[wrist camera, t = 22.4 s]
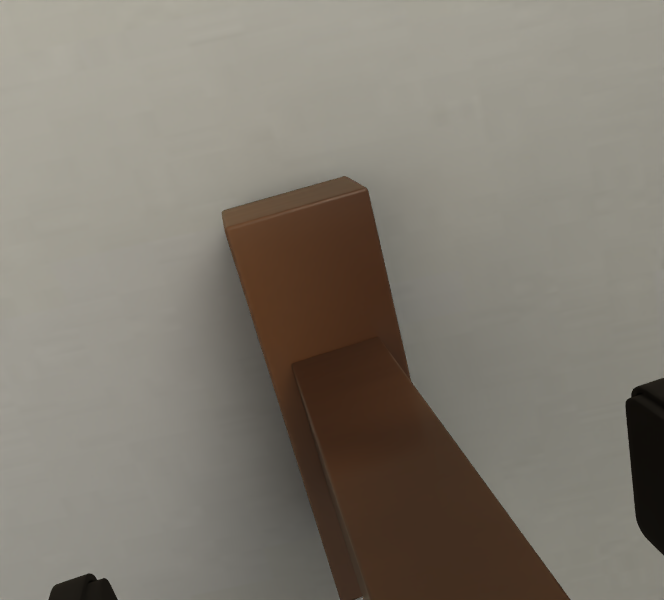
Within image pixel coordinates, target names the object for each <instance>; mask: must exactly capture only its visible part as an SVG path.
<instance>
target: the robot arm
mask: <svg viewBox="0 0 664 600" xmlns="http://www.w3.org/2000/svg"><path fill="white" fill-rule="evenodd" d="M626 417H627V428H628V439H629V449H630V460H631V471H632V481H633V492H634V503H635V513H636V520H637V523H638V526H639V528H640V530H641V531H642V533H643V534H644V536H645V537H646V538H647V539H648V540H649V541H650V542H651V543H652V544H653V545H654V546H655V547H656V548H657V549H658V550H659V551H660V552H661V553H662V554H663V555H664V378H661V379H658V380H656V381H653V382H650V383H647V384H644V385H641V386H638V387H636V388H634V389H633V391H632V393H631V398H629V399H628V400H627V401H626ZM49 600H118V599H117V597H116V595H115V593H114V591H113V589H112V587H111V585H110V583H109V581H108V580H107V579H106V578H103V579H100V580H97V579H96V577H95V576H94V575H93V574H86V575H83V576H80V577H77V578H74V579H71V580H68V581H65V582H62V583H59V584H56V585H55V586H54V587H53V589H52V591H51V593H50V597H49Z"/></svg>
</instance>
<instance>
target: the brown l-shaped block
mask: <svg viewBox="0 0 664 600" xmlns="http://www.w3.org/2000/svg"><path fill="white" fill-rule="evenodd" d="M222 219H223V225H224V230H225V234H226V237H227V240H228V243H229V247H230V250H231V253H232V256H233V259H234V263H235V266H236V269H237V272H238V275H239V278H240V282H241V285H242V288H243V291H244V294H245V298H246V301H247V304H248V307H249V310H250V314H251V317H252V320H253V323H254V326H255V329H256V333H257V336H258V339H259V342H260V345H261V349H262V352H263V355H264V358H265V361H266V365H267V368H268V371H269V374H270V377H271V380H272V384H273V387H274V390H275V393H276V396H277V400H278V403H279V406H280V409H281V412H282V416H283V419H284V422H285V425H286V428H287V431H288V435H289V438H290V441H291V444H292V447H293V451H294V454H295V457H296V460H297V463H298V467H299V470H300V473H301V476H302V479H303V482H304V486H305V489H306V492H307V495H308V498H309V502H310V505H311V508H312V511H313V514H314V517H315V521H316V524H317V527H318V530H319V533H320V537H321V540H322V543H323V546H324V549H325V553H326V556H327V559H328V562H329V565H330V568H331V572H332V575H333V578H334V581H335V584H336V588H337V591H338V594H339V597H340V600H354V599H357V598H360V597H362V596H363V599H364V600H570V598H569V597H568V596H567V594H566V593H565V592H564V590H563V589H562V587H561V586H560V585H559V583H558V582H557V581H556V579H555V578H554V576H553V575H552V574H551V572H550V571H549V570H548V568H547V567H546V566H545V564H544V563H543V561H542V560H541V559H540V557H539V556H538V555H537V553H536V552H535V550H534V549H533V548H532V546H531V545H530V544H529V542H528V541H527V540H526V538H525V537H524V535H523V534H522V533H521V531H520V530H519V529H518V527H517V526H516V524H515V523H514V522H513V520H512V519H511V518H510V516H509V515H508V514H507V512H506V511H505V509H504V508H503V507H502V505H501V504H500V503H499V501H498V500H497V498H496V497H495V496H494V494H493V493H492V492H491V490H490V489H489V487H488V486H487V485H486V483H485V482H484V481H483V479H482V478H481V477H480V475H479V474H478V472H477V471H476V470H475V468H474V467H473V466H472V464H471V463H470V461H469V460H468V459H467V457H466V456H465V455H464V453H463V452H462V451H461V449H460V448H459V446H458V445H457V444H456V442H455V441H454V440H453V438H452V437H451V435H450V434H449V433H448V431H447V430H446V429H445V427H444V426H443V425H442V423H441V422H440V420H439V419H438V418H437V416H436V415H435V414H434V412H433V411H432V409H431V408H430V407H429V405H428V404H427V403H426V401H425V400H424V399H423V397H422V396H421V394H420V393H419V392H418V390H417V389H416V388H415V386H414V385H413V383H412V382H411V379H410V374H409V370H408V365H407V361H406V356H405V352H404V348H403V343H402V339H401V334H400V330H399V325H398V321H397V317H396V312H395V308H394V303H393V299H392V294H391V290H390V285H389V281H388V277H387V272H386V268H385V263H384V259H383V254H382V250H381V246H380V241H379V237H378V232H377V228H376V223H375V219H374V214H373V210H372V206H371V201H370V197H369V192H368V189H367V188H366V187H364V186H362V185H361V184H359V183H357V182H355V181H354V180H352V179H350V178H348V177H346V176H343V177H340V178H336V179H333V180H329V181H326V182H322V183H319V184H315V185H312V186H308V187H304V188H301V189H297V190H294V191H290V192H287V193H283V194H280V195H276V196H273V197H269V198H266V199H262V200H259V201H255V202H251V203H248V204H244V205H241V206H237V207H234V208H230V209H227V210H224V211H222Z"/></svg>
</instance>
